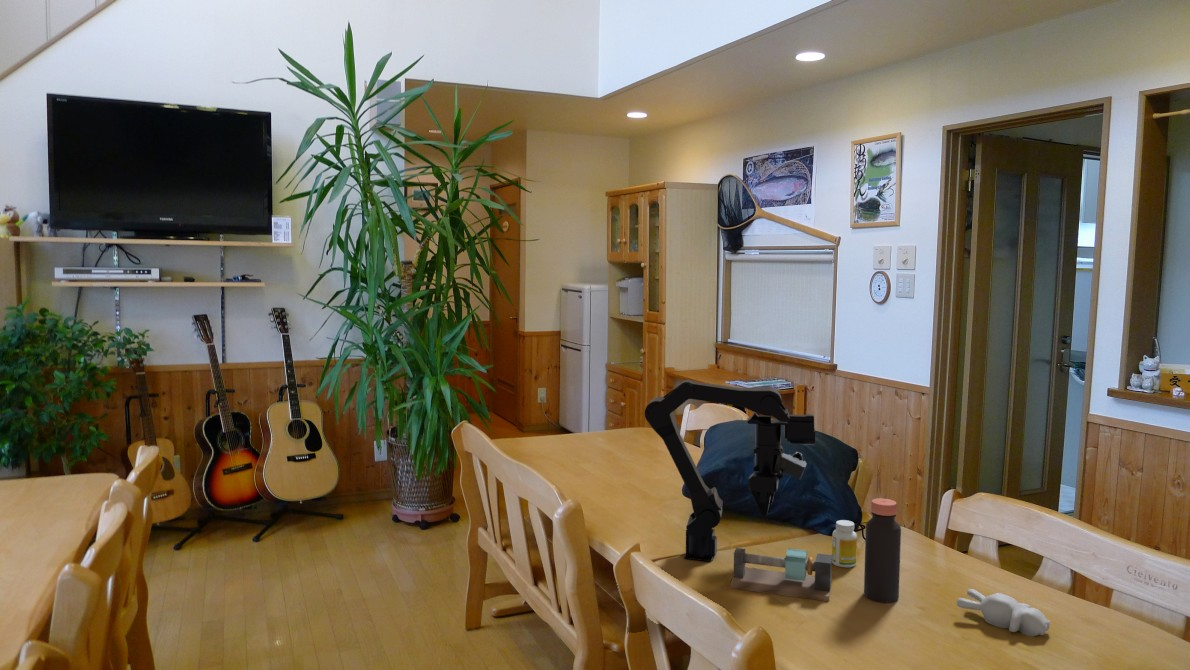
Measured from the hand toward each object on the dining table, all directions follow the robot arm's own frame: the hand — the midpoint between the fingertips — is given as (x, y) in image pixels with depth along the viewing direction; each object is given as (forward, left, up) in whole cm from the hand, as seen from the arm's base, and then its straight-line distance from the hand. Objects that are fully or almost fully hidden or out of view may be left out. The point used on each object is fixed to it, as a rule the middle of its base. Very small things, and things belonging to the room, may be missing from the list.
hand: (767, 509), depth 183 cm
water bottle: (+25, -12, -12) cm, 30 cm away
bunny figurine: (+47, -17, -12) cm, 51 cm away
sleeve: (+8, -13, -9) cm, 18 cm away
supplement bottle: (+17, +4, -12) cm, 21 cm away
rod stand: (+5, -13, -12) cm, 18 cm away
